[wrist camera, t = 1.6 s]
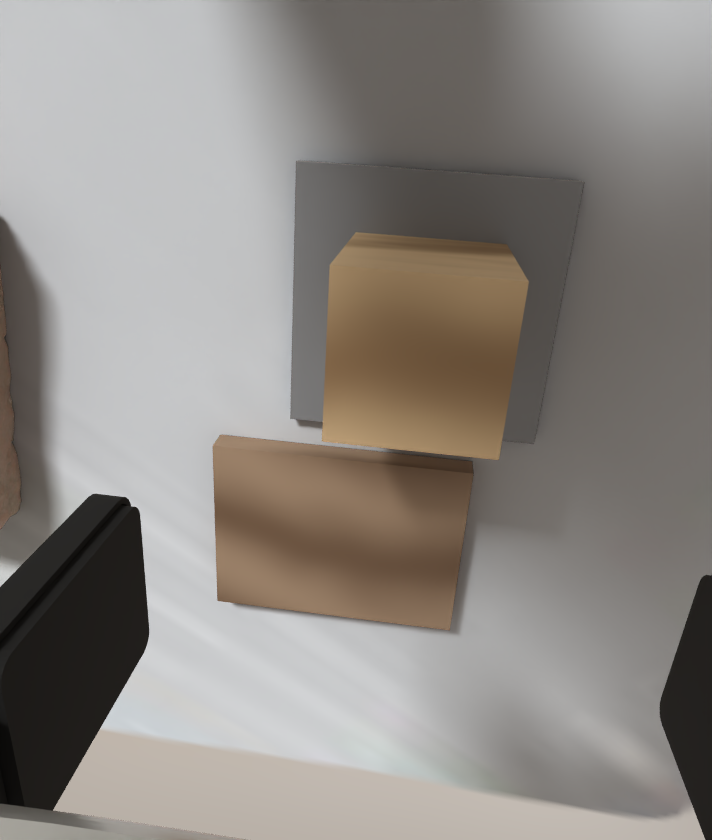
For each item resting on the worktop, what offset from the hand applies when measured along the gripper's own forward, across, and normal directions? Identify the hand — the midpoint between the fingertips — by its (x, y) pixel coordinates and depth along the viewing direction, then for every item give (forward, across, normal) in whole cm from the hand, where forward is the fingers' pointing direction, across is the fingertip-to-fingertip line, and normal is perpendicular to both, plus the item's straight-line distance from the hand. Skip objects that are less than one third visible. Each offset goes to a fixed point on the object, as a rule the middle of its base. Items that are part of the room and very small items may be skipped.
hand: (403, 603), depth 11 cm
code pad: (+19, 0, 0) cm, 19 cm away
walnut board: (+19, +3, +11) cm, 22 cm away
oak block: (+18, 0, 0) cm, 18 cm away
